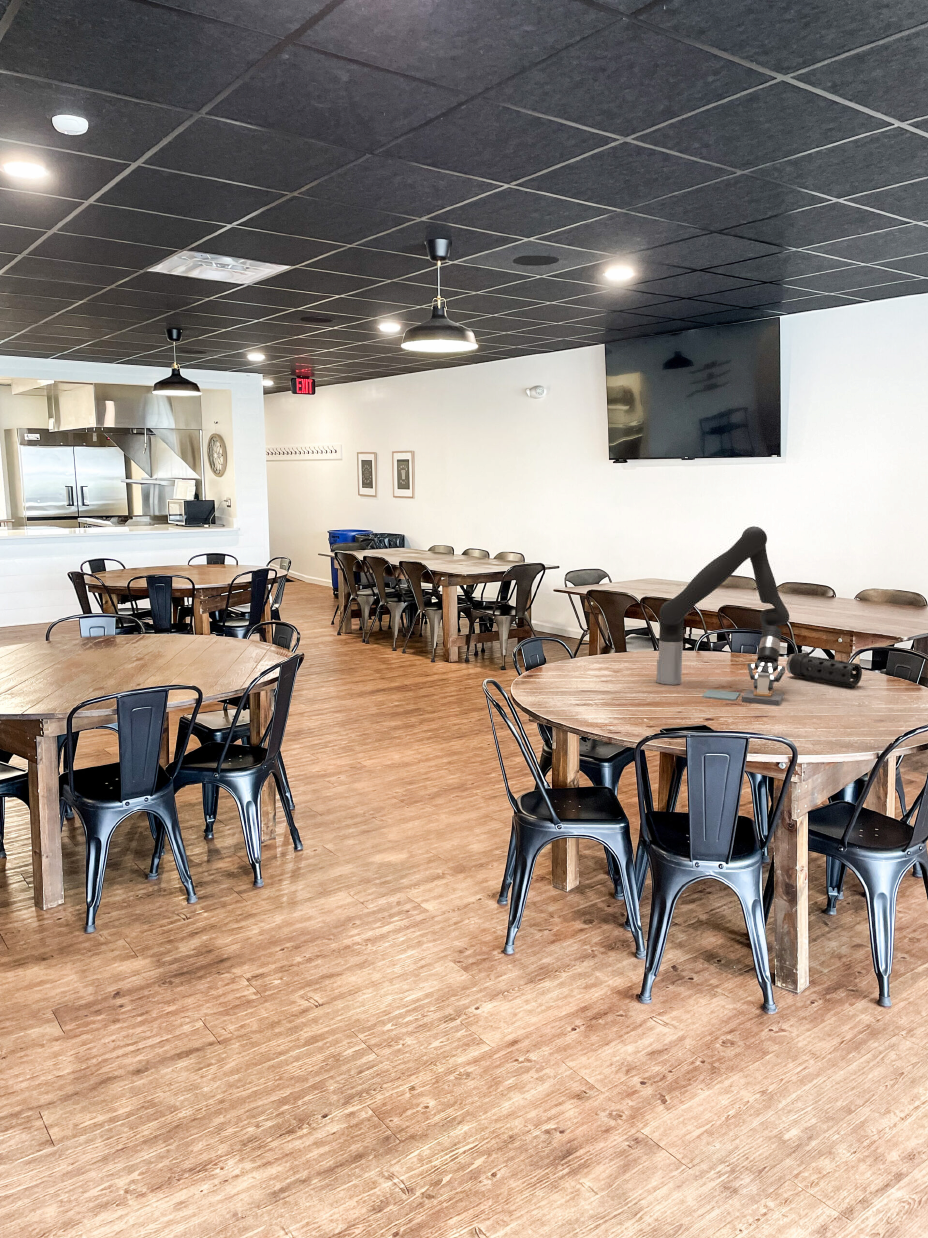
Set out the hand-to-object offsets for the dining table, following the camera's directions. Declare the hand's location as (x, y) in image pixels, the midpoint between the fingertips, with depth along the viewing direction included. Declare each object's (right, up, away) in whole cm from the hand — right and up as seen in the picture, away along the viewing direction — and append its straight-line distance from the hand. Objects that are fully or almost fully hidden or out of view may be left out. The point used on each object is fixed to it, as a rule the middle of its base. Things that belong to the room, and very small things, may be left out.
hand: (762, 689), depth 319 cm
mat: (-13, -3, +9) cm, 16 cm away
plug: (+1, -4, +2) cm, 5 cm away
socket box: (+1, -4, +2) cm, 5 cm away
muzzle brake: (+35, 0, +32) cm, 48 cm away
